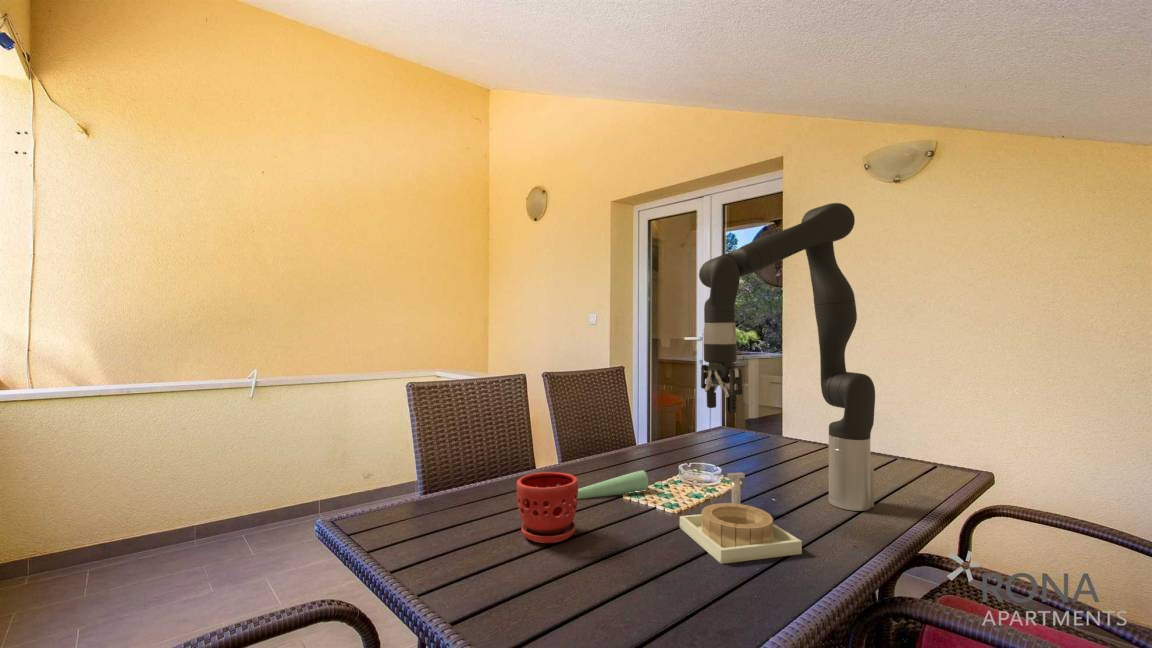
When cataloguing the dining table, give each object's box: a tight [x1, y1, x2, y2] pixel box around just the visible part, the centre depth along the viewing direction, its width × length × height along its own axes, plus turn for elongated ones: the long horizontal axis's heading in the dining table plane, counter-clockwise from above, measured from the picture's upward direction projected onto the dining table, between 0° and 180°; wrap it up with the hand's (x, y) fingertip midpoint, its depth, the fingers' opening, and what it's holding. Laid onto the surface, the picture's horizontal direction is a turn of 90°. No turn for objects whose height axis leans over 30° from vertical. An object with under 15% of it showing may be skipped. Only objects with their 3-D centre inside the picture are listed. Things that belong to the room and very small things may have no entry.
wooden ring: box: [701, 502, 774, 548], centre depth 106 cm, size 14×14×4 cm
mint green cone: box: [577, 469, 649, 500], centre depth 133 cm, size 5×6×27 cm
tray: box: [679, 513, 803, 564], centre depth 105 cm, size 18×18×2 cm
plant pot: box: [516, 471, 579, 544], centre depth 108 cm, size 13×13×12 cm
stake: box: [726, 472, 746, 504], centre depth 122 cm, size 4×2×9 cm, turn 104°
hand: (720, 410), depth 119 cm, fingers open, 8 cm apart
